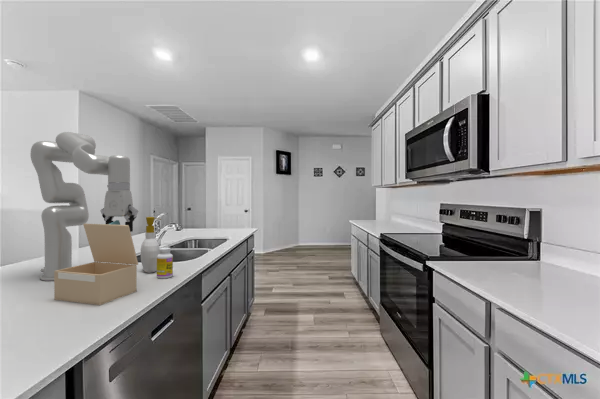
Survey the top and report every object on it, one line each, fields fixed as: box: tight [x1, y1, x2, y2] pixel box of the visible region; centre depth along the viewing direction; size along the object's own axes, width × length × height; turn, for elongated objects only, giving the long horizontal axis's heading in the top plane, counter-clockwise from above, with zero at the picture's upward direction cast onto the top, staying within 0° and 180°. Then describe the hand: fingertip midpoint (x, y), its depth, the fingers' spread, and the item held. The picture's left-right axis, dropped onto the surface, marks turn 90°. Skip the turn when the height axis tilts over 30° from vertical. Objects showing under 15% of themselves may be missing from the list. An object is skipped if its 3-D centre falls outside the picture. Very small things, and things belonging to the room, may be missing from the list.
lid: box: [82, 219, 139, 266], centre depth 125 cm, size 21×16×6 cm
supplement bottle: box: [156, 247, 174, 279], centre depth 143 cm, size 7×7×13 cm
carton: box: [53, 261, 138, 306], centre depth 117 cm, size 20×16×10 cm
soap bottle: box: [140, 216, 162, 274], centre depth 154 cm, size 14×9×26 cm, turn 34°
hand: (119, 231), depth 126 cm, fingers open, 9 cm apart
